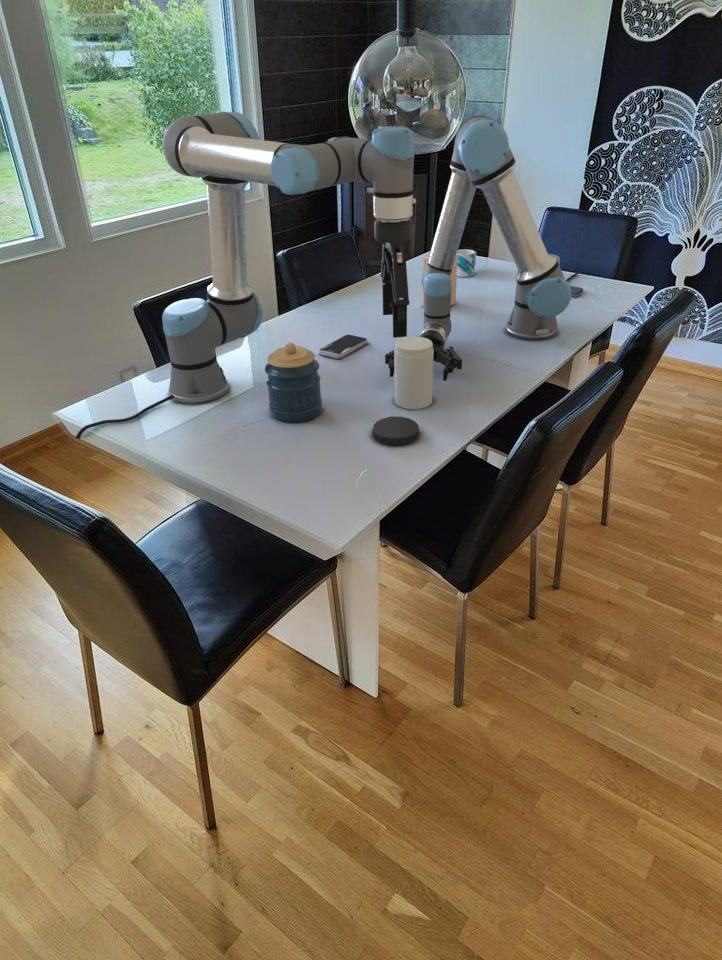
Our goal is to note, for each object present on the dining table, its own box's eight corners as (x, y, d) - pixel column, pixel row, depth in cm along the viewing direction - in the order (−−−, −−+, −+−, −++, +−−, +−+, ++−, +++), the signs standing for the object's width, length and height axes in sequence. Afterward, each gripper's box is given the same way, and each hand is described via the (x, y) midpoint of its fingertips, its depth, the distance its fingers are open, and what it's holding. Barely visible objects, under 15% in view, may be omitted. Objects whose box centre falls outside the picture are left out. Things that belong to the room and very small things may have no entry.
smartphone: (368, 338, 202) (338, 355, 192) (368, 342, 203) (339, 359, 192) (347, 334, 206) (317, 350, 195) (347, 338, 206) (317, 354, 196)
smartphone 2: (577, 293, 230) (535, 286, 237) (576, 298, 231) (535, 291, 238) (584, 287, 236) (543, 280, 243) (583, 292, 237) (542, 285, 244)
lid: (385, 420, 160) (385, 412, 159) (425, 429, 156) (426, 421, 155) (364, 440, 153) (364, 432, 152) (406, 450, 148) (406, 442, 147)
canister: (275, 426, 159) (266, 357, 150) (266, 403, 170) (257, 337, 160) (328, 418, 162) (323, 349, 153) (316, 396, 173) (310, 330, 163)
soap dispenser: (444, 310, 225) (446, 242, 213) (422, 306, 229) (423, 239, 217) (461, 299, 234) (464, 233, 222) (439, 295, 238) (440, 231, 226)
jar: (440, 401, 168) (442, 343, 160) (411, 412, 163) (412, 353, 155) (414, 389, 175) (415, 333, 166) (386, 400, 170) (386, 342, 161)
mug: (449, 275, 259) (450, 253, 254) (462, 267, 267) (463, 245, 262) (469, 277, 255) (470, 255, 250) (481, 269, 263) (483, 247, 259)
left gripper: (425, 231, 119) (423, 345, 130) (401, 204, 139) (401, 304, 151) (383, 234, 118) (385, 348, 130) (366, 206, 139) (368, 307, 150)
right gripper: (475, 358, 185) (466, 391, 168) (387, 352, 190) (369, 383, 173) (477, 332, 181) (468, 363, 164) (387, 327, 186) (369, 356, 169)
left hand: (394, 325), depth 140 cm, fingers open, 13 cm apart
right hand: (417, 373), depth 168 cm, fingers open, 13 cm apart
